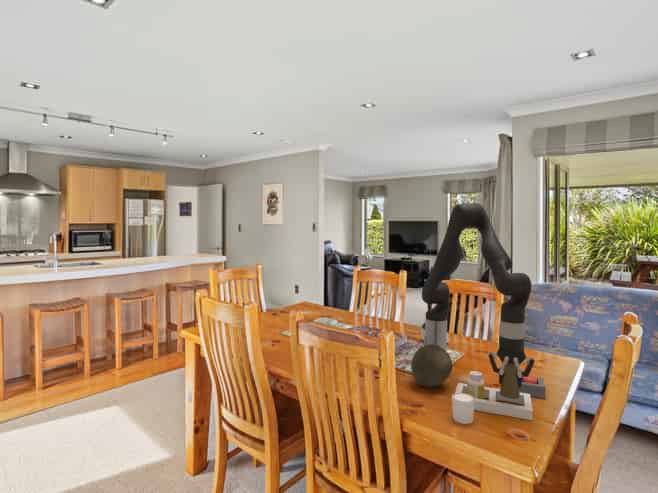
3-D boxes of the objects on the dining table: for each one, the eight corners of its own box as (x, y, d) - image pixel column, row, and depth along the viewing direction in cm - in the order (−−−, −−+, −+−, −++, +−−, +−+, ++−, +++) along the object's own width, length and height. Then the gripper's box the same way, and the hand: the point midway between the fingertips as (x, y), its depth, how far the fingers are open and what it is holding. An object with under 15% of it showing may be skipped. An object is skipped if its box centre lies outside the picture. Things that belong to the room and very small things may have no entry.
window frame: (453, 406, 131) (454, 397, 130) (457, 390, 142) (457, 382, 142) (532, 420, 122) (532, 410, 121) (529, 402, 133) (530, 394, 133)
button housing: (515, 394, 139) (516, 383, 139) (515, 384, 148) (515, 373, 147) (545, 398, 136) (545, 387, 136) (542, 388, 144) (543, 377, 144)
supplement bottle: (483, 399, 136) (484, 371, 135) (484, 406, 130) (485, 377, 130) (466, 397, 137) (467, 369, 137) (466, 403, 132) (467, 375, 132)
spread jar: (418, 340, 199) (419, 318, 198) (435, 337, 204) (436, 315, 204) (435, 347, 189) (436, 323, 188) (453, 344, 194) (453, 320, 193)
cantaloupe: (421, 395, 138) (421, 353, 137) (405, 379, 152) (406, 341, 151) (458, 392, 141) (459, 350, 140) (439, 376, 155) (440, 338, 154)
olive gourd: (522, 399, 126) (523, 365, 125) (501, 397, 127) (502, 364, 126) (517, 391, 132) (518, 358, 131) (497, 389, 133) (498, 357, 132)
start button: (523, 387, 140) (523, 379, 140) (522, 382, 144) (522, 374, 144) (537, 389, 139) (537, 381, 138) (536, 384, 143) (536, 376, 142)
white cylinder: (447, 414, 125) (448, 393, 125) (468, 413, 126) (468, 391, 125) (457, 425, 118) (457, 403, 118) (479, 424, 119) (479, 401, 119)
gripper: (487, 335, 127) (486, 387, 129) (537, 340, 122) (535, 395, 123) (488, 329, 134) (486, 378, 135) (535, 334, 129) (533, 385, 130)
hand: (510, 386), depth 129 cm, fingers closed on olive gourd, 4 cm apart
